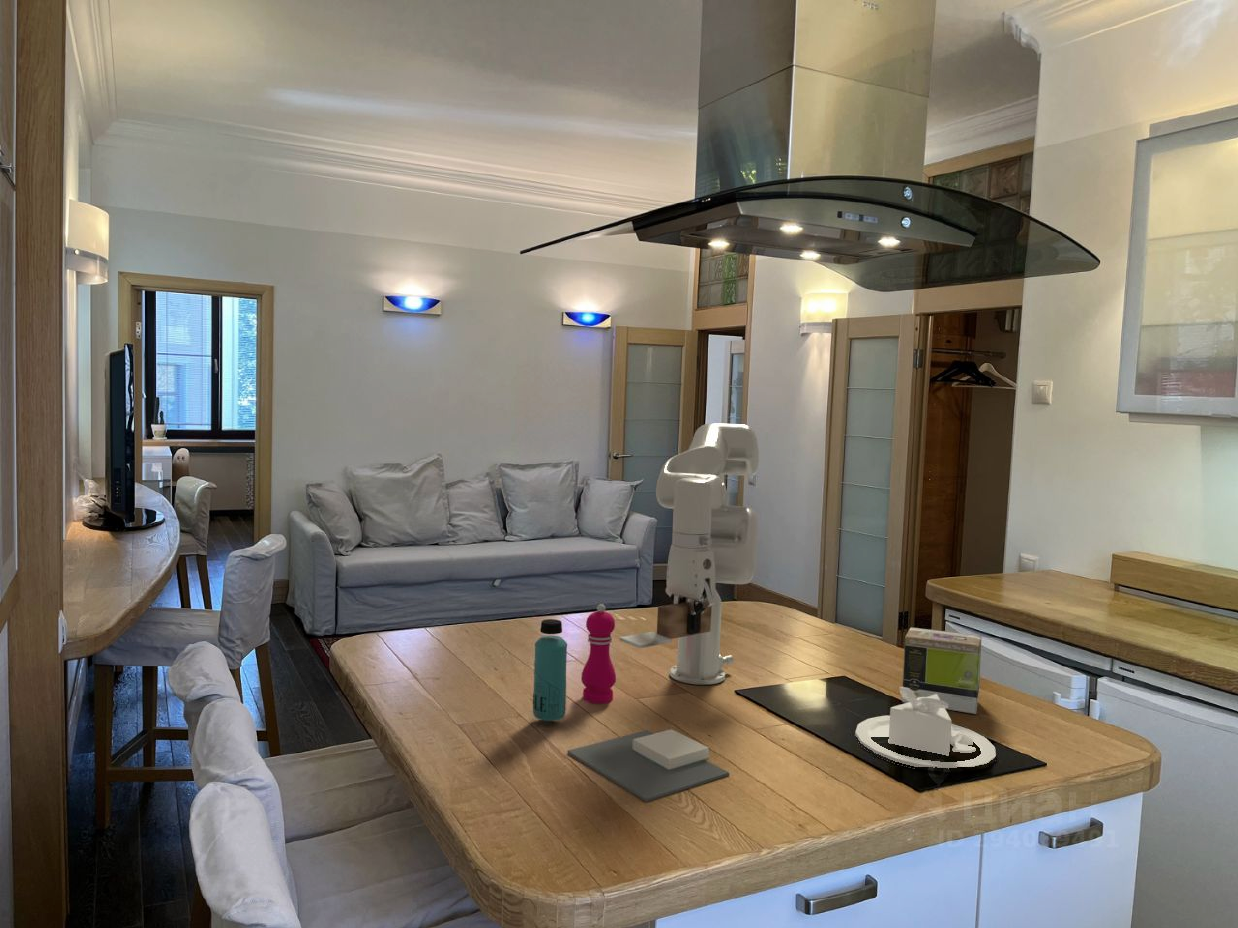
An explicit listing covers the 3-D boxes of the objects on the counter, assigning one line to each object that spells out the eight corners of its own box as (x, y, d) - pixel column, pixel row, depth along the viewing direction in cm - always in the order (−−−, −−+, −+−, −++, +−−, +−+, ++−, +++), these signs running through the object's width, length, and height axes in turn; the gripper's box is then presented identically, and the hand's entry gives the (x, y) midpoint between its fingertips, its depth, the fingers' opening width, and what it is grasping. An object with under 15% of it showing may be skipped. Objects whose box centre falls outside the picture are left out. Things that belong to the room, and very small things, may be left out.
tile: (671, 729, 159) (632, 739, 154) (708, 747, 151) (669, 758, 146) (671, 739, 159) (632, 750, 154) (708, 758, 151) (668, 770, 146)
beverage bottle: (570, 719, 169) (574, 618, 167) (557, 731, 163) (560, 626, 161) (540, 714, 171) (543, 614, 169) (525, 725, 165) (528, 622, 163)
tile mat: (647, 732, 164) (647, 729, 163) (729, 775, 146) (729, 772, 146) (567, 753, 153) (567, 750, 153) (645, 801, 135) (646, 798, 135)
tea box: (978, 701, 188) (983, 634, 187) (976, 716, 179) (981, 645, 178) (906, 689, 195) (910, 624, 194) (900, 703, 185) (904, 635, 184)
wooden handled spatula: (695, 626, 179) (696, 597, 179) (715, 633, 175) (717, 604, 174) (619, 640, 167) (621, 609, 167) (639, 648, 162) (640, 616, 162)
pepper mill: (611, 706, 177) (614, 609, 175) (576, 702, 178) (580, 606, 177) (618, 694, 184) (621, 601, 183) (585, 691, 185) (588, 599, 184)
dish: (983, 787, 146) (988, 721, 145) (837, 750, 159) (841, 690, 158) (1005, 741, 167) (1009, 683, 166) (875, 712, 180) (878, 659, 179)
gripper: (734, 545, 168) (729, 638, 170) (677, 532, 181) (674, 618, 183) (706, 549, 164) (702, 644, 165) (650, 535, 176) (647, 624, 178)
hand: (687, 630), depth 174 cm, fingers closed on wooden handled spatula, 2 cm apart
